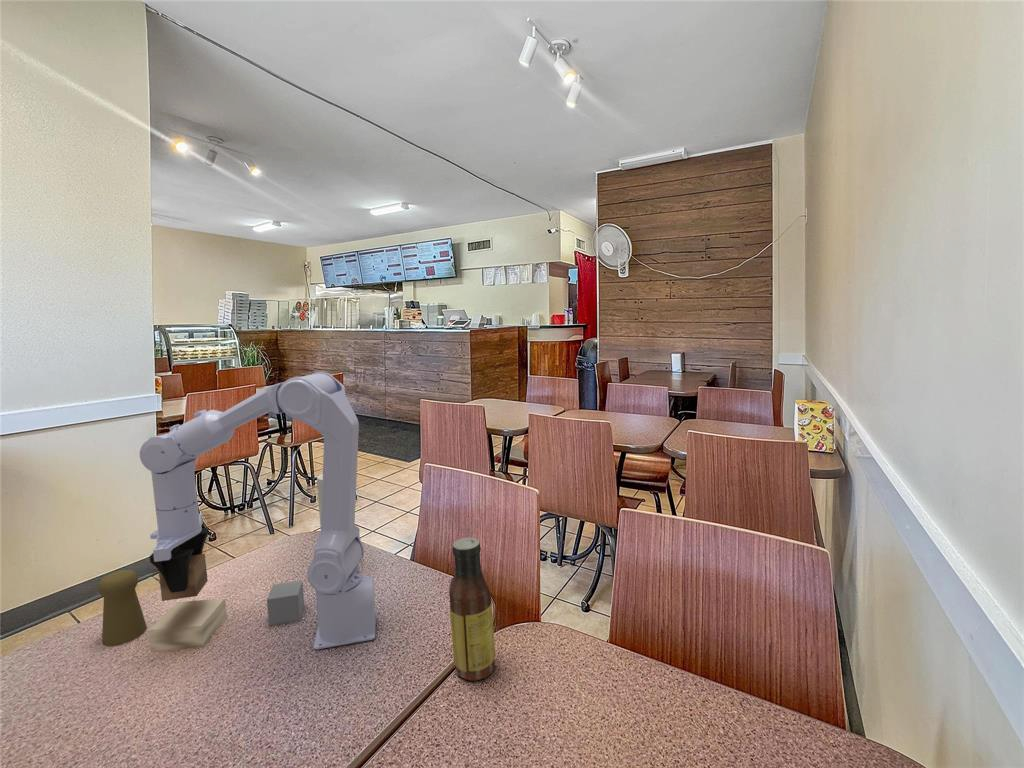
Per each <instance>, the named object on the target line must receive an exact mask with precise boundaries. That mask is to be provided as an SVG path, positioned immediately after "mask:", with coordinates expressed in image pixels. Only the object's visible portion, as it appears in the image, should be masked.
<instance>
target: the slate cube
mask: <svg viewBox="0 0 1024 768" xmlns="http://www.w3.org/2000/svg"><path fill="white" fill-rule="evenodd" d="M266 603H267V604H266V605H267V615H268V616H267V617H268V625H269V626H270V627H271V626H278V625H283V624H288V623H289V624H290V623H296V622H300V621H301V618H302V615H303V611H304V608H305V596H304V584H303V580H297V581H290V582H288V581H287V582H284V583H277V584H272V587H271V588H270V591H269V593H268V596H267V598H266Z"/></svg>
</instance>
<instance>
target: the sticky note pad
mask: <svg viewBox="0 0 1024 768" xmlns="http://www.w3.org/2000/svg"><path fill="white" fill-rule="evenodd" d="M227 618H228V614H227V603H226V597H225V598H212V599H201V600H200V599H199V600H188V601H186V600H185V601H177V602H175V604H173V606H172V607H171V608H170V609H168V611H166V613H164V614H163V615H162V616H161V617H160V618H159V619H158V621H156V622H155V623H154V624H153V625H152V626H151V627H150V628H149V629H148V636H149V645H150V646H149V647H150V652H163V651H173V650H175V651H176V650H183V649H184V650H185V649H196V648H204V647H206V644H207V643H208V642H209V641H210V640H211V639H212V638H213V636H214V635H215V634H216V632H217V631H218V630H219V628H220V627H221V626H222V625H221V624H223V623H224V622H225V621H226V620H225V619H227ZM224 620H225V621H224ZM220 625H221V626H220ZM219 626H220V627H219ZM217 629H218V630H217ZM216 630H217V631H216ZM213 634H214V635H213ZM212 635H213V636H212Z"/></svg>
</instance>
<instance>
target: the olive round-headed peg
mask: <svg viewBox="0 0 1024 768" xmlns="http://www.w3.org/2000/svg"><path fill="white" fill-rule="evenodd" d="M138 581H139V578H138V575H137V573H136V572H135V571H134V570H132V569H122V570H116V571H114V572H111V573H108V574H107V575H105V576H103V578H101V579H100V581H99V583H98V587H97V589H98V594H99V595H100V596H101V597H102V598H103V609H102V612H103V613H102V628H101V630H102V633H101V644H102V645H103V646H105V647H115V646H116V647H117V646H120V645H121V646H122V645H123V644H127V643H129V642H131V641H135V640H136V639H137V638H140V637H141V636H142V635H143V634H145V632H146V631H147V629H148V626H147V622H146V620H145V616H144V613H143V610H142V606H141V603H140V600H139V596H138V594H137V592H136V587H137V586H138V583H139V582H138Z"/></svg>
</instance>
